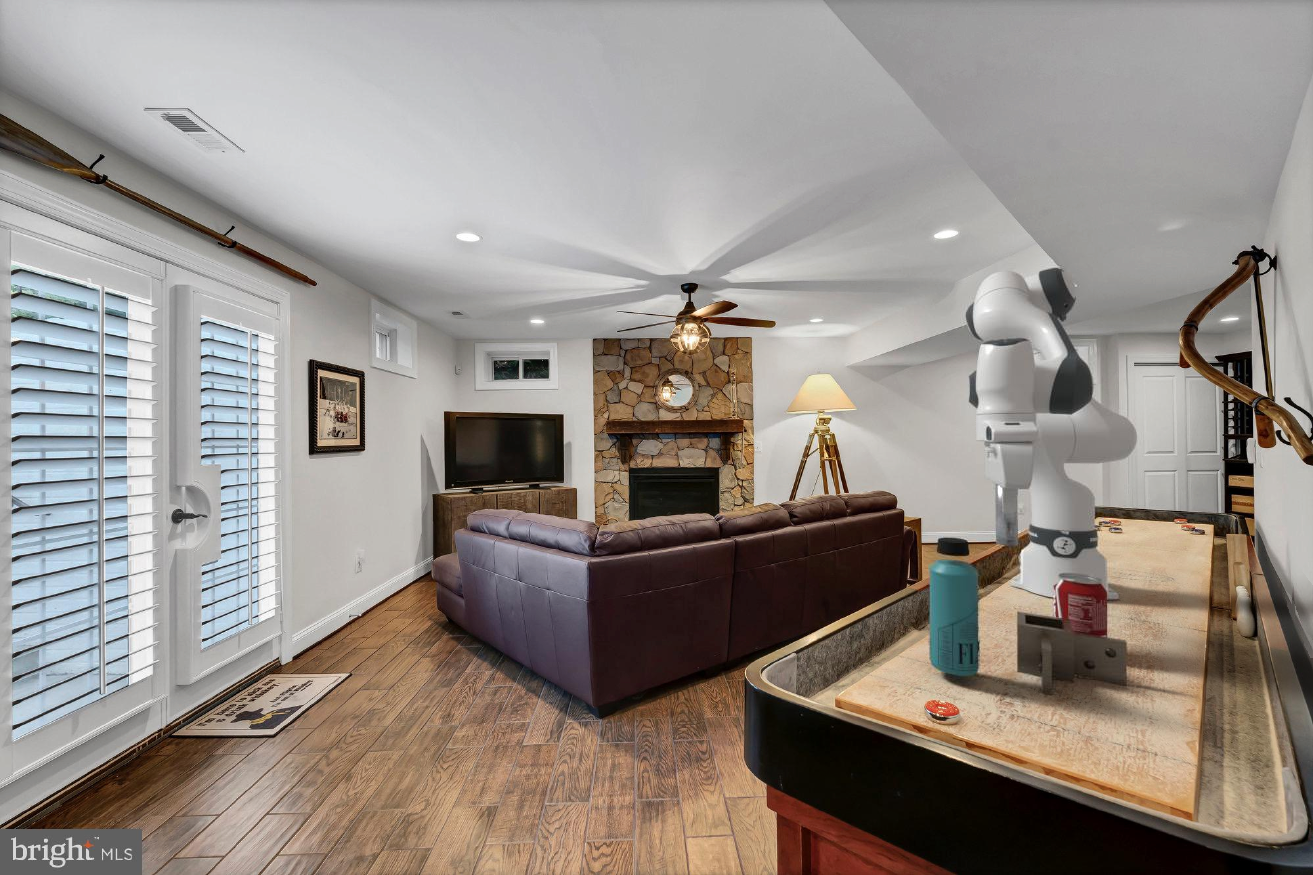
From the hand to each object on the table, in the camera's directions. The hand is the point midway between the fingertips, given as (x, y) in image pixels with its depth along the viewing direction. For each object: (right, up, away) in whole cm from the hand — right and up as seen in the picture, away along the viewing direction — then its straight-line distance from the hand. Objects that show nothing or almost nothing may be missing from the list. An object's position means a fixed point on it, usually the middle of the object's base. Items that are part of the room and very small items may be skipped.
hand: (1005, 511), depth 94 cm
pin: (0, -6, 0) cm, 6 cm away
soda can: (+7, -22, -7) cm, 24 cm away
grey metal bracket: (-2, -22, -17) cm, 28 cm away
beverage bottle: (-18, -22, -15) cm, 32 cm away
